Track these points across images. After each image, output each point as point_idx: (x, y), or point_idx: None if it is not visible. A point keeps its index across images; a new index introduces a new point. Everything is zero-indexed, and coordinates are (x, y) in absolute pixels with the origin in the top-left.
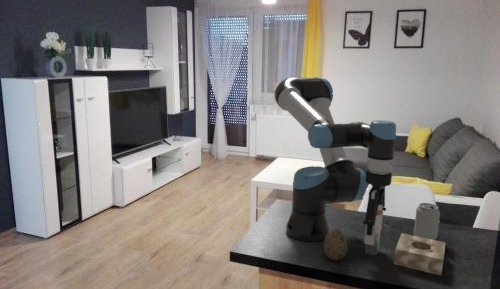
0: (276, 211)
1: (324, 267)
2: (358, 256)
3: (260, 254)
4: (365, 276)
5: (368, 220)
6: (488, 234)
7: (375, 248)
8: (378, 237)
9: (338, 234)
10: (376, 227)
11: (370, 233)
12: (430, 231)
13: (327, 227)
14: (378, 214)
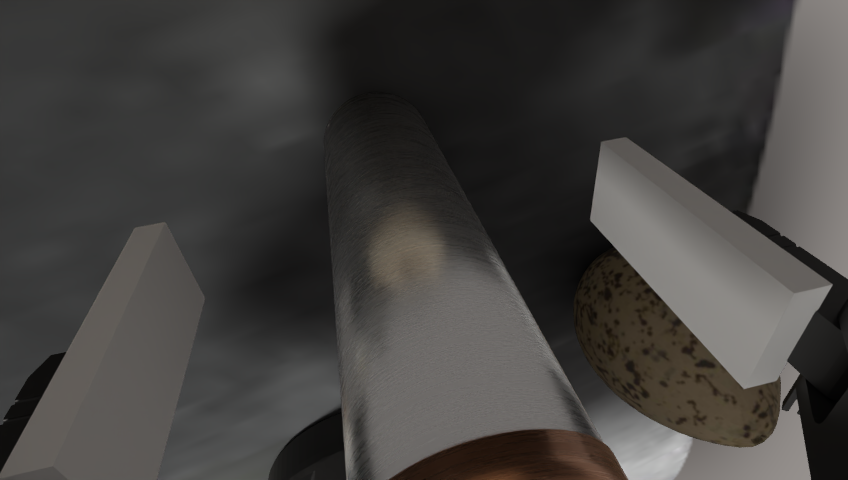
0: None
1: None
2: (504, 187)
3: (675, 441)
4: (768, 38)
5: (813, 408)
6: None
7: (423, 128)
8: (425, 166)
9: (779, 392)
10: (503, 264)
11: (765, 236)
12: None
13: None
14: (607, 452)
